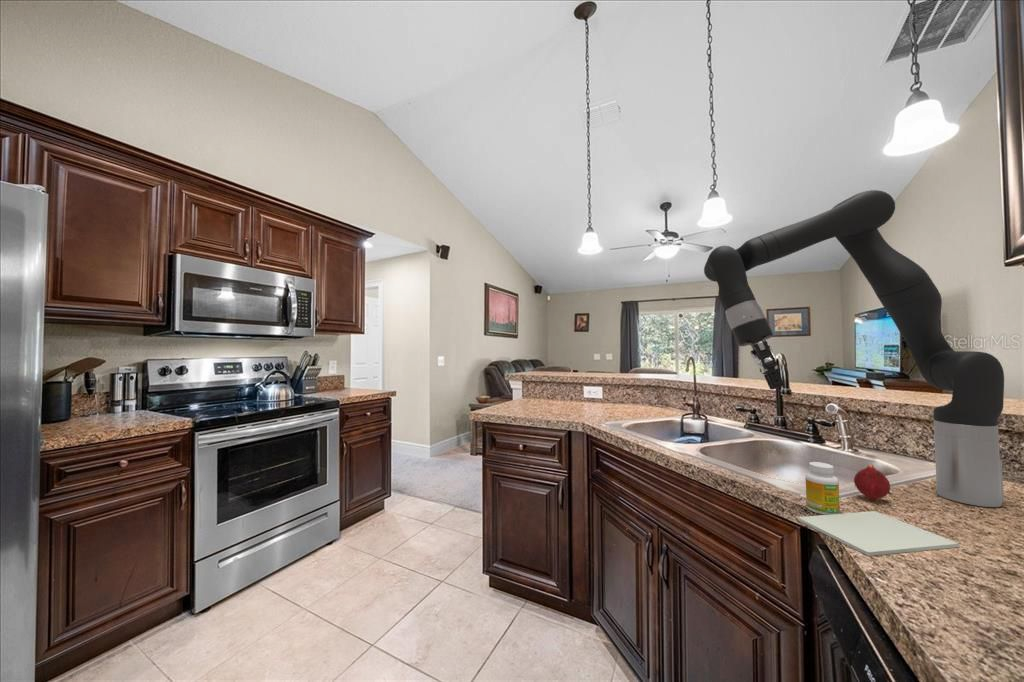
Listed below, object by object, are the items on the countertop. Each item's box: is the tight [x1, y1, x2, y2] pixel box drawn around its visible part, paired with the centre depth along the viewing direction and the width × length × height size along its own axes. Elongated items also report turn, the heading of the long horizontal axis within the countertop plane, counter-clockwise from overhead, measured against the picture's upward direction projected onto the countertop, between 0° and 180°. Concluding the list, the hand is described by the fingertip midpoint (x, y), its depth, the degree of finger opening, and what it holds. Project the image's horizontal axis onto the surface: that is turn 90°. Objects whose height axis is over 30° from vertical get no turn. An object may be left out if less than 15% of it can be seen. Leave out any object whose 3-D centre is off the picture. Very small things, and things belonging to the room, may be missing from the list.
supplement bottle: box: [805, 461, 841, 515], centre depth 78 cm, size 5×5×10 cm
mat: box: [797, 510, 960, 557], centre depth 69 cm, size 18×13×1 cm
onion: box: [853, 463, 891, 501], centre depth 83 cm, size 6×6×8 cm
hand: (777, 387), depth 84 cm, fingers open, 8 cm apart
